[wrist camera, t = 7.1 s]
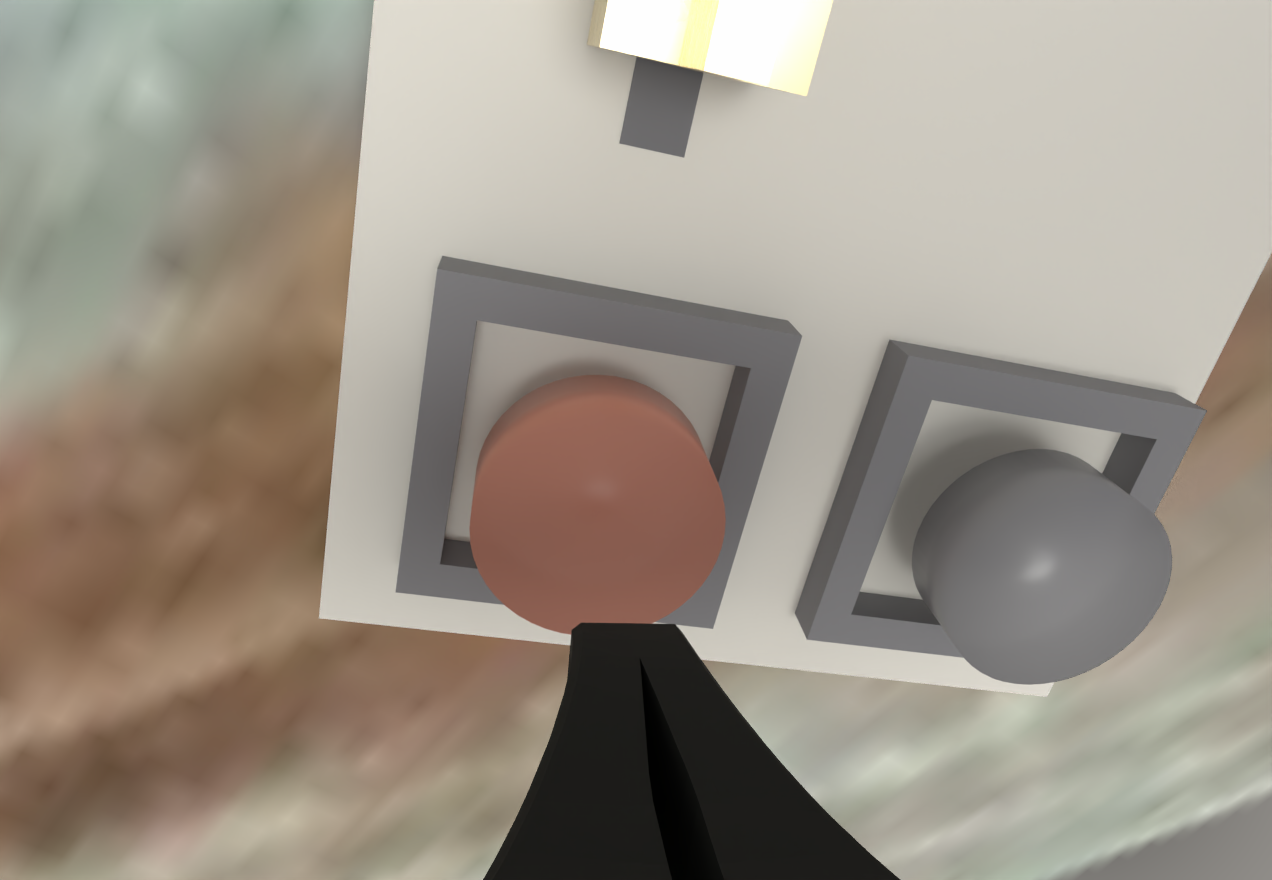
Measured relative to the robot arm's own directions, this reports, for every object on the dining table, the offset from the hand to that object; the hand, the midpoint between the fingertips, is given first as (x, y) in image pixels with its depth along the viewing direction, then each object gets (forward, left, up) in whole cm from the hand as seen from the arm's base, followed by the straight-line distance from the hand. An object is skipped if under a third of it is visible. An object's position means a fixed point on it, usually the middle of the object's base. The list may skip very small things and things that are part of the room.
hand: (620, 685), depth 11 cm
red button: (0, 0, -6) cm, 6 cm away
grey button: (-9, 0, -6) cm, 11 cm away
